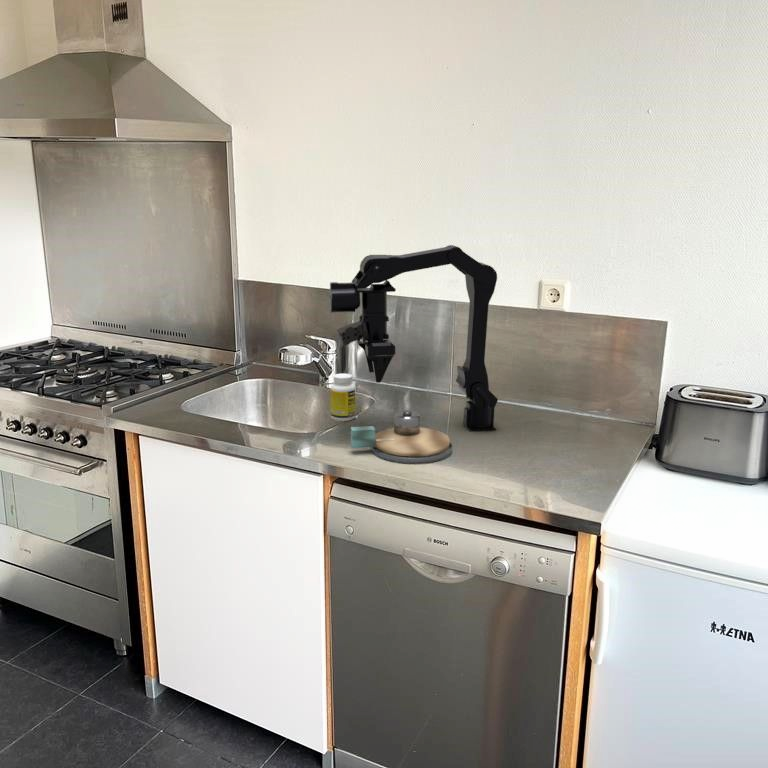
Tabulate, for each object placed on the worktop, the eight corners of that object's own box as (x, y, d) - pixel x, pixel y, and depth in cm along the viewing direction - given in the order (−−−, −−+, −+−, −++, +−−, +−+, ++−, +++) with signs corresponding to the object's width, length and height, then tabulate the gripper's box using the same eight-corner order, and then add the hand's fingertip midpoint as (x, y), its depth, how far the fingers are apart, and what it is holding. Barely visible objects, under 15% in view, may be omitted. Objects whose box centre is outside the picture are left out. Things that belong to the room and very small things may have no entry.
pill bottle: (351, 422, 189) (352, 379, 186) (327, 420, 190) (327, 377, 187) (357, 415, 195) (357, 373, 192) (334, 413, 196) (334, 371, 193)
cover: (416, 427, 178) (417, 407, 177) (422, 435, 173) (423, 415, 171) (391, 428, 177) (391, 408, 176) (396, 436, 172) (396, 416, 170)
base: (439, 434, 181) (440, 429, 181) (461, 461, 164) (461, 456, 164) (365, 438, 178) (365, 433, 177) (379, 466, 161) (379, 460, 160)
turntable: (438, 429, 180) (439, 413, 179) (458, 454, 164) (459, 436, 163) (346, 433, 176) (346, 417, 175) (357, 459, 160) (357, 441, 159)
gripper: (334, 305, 182) (335, 369, 186) (345, 320, 164) (346, 389, 168) (380, 304, 184) (380, 366, 188) (395, 318, 166) (395, 387, 170)
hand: (374, 377), depth 179 cm, fingers open, 9 cm apart
